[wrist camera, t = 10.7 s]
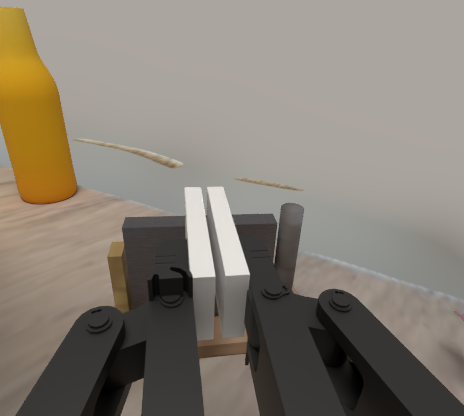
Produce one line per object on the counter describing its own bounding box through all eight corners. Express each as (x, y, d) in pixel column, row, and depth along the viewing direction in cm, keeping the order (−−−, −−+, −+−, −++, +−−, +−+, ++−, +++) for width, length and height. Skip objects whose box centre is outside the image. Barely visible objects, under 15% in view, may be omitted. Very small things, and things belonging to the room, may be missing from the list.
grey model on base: (285, 281, 40) (298, 182, 34) (314, 345, 32) (339, 230, 26) (123, 293, 37) (108, 187, 31) (108, 367, 29) (83, 242, 23)
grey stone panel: (263, 297, 35) (272, 213, 30) (267, 310, 33) (277, 223, 28) (136, 305, 33) (125, 217, 28) (134, 318, 31) (121, 228, 27)
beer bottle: (88, 192, 61) (56, 10, 48) (38, 210, 54) (-16, 3, 41) (60, 180, 65) (23, 11, 52) (10, 195, 59) (-46, 5, 45)
